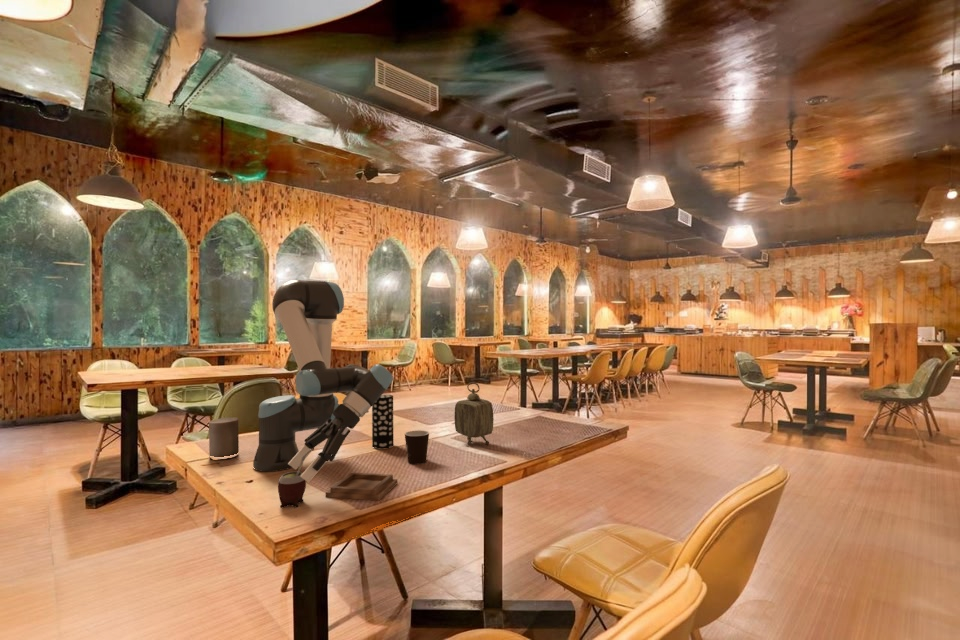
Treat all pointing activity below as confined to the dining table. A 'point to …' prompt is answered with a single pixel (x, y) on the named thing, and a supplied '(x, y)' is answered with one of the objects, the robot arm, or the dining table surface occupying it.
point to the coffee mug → (416, 446)
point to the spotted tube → (382, 422)
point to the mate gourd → (292, 487)
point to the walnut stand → (362, 486)
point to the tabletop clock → (474, 416)
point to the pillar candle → (223, 437)
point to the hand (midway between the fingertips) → (297, 473)
